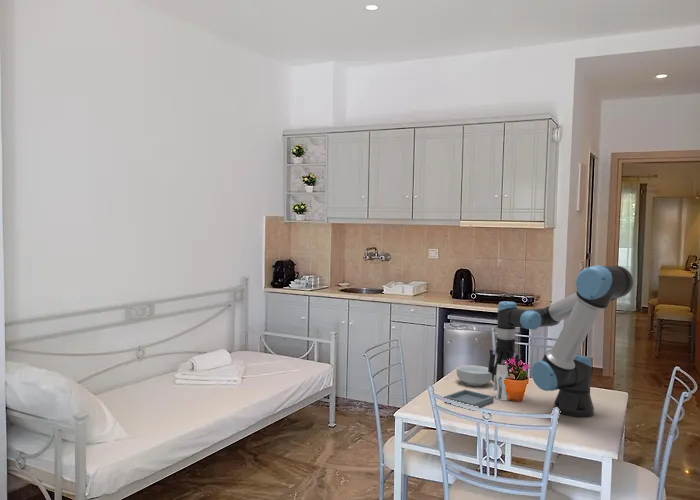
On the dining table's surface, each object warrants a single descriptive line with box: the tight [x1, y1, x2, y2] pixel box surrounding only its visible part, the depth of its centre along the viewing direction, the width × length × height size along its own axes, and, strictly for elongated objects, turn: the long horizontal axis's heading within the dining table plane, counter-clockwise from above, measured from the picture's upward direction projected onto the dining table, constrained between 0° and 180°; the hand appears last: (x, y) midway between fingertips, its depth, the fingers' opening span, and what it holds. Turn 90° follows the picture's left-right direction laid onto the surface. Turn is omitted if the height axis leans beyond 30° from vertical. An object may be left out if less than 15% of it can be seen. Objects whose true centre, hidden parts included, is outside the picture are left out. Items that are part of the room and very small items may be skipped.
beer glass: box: [495, 361, 510, 402], centre depth 259 cm, size 7×7×15 cm
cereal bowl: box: [456, 364, 492, 387], centre depth 282 cm, size 17×17×7 cm
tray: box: [443, 389, 495, 408], centre depth 252 cm, size 14×16×2 cm
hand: (503, 391), depth 259 cm, fingers closed on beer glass, 7 cm apart
